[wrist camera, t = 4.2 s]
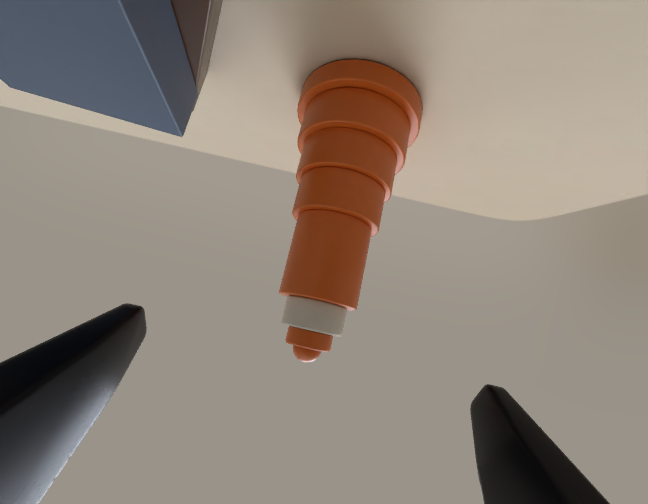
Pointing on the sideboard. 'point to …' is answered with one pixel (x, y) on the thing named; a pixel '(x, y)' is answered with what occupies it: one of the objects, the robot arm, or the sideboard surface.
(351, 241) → the cone
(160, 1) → the top block
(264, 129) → the sideboard surface
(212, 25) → the base block
